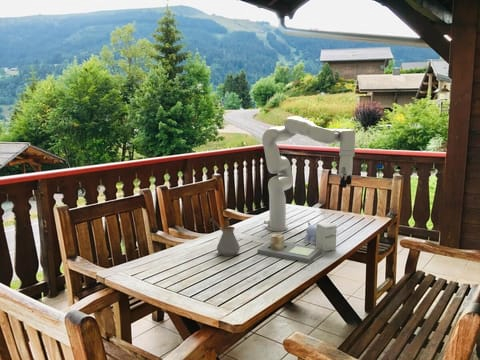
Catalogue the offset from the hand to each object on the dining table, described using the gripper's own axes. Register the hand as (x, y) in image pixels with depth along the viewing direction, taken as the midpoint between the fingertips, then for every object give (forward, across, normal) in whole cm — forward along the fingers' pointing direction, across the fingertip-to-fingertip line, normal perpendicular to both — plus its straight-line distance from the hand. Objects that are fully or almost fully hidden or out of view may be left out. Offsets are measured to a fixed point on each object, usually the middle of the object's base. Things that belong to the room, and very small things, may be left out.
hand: (345, 186), depth 216 cm
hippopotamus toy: (+30, +7, -12) cm, 34 cm away
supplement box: (+30, +16, -5) cm, 35 cm away
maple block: (+30, +31, -25) cm, 50 cm away
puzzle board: (+30, +31, -18) cm, 47 cm away
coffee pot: (+30, +43, -49) cm, 72 cm away
